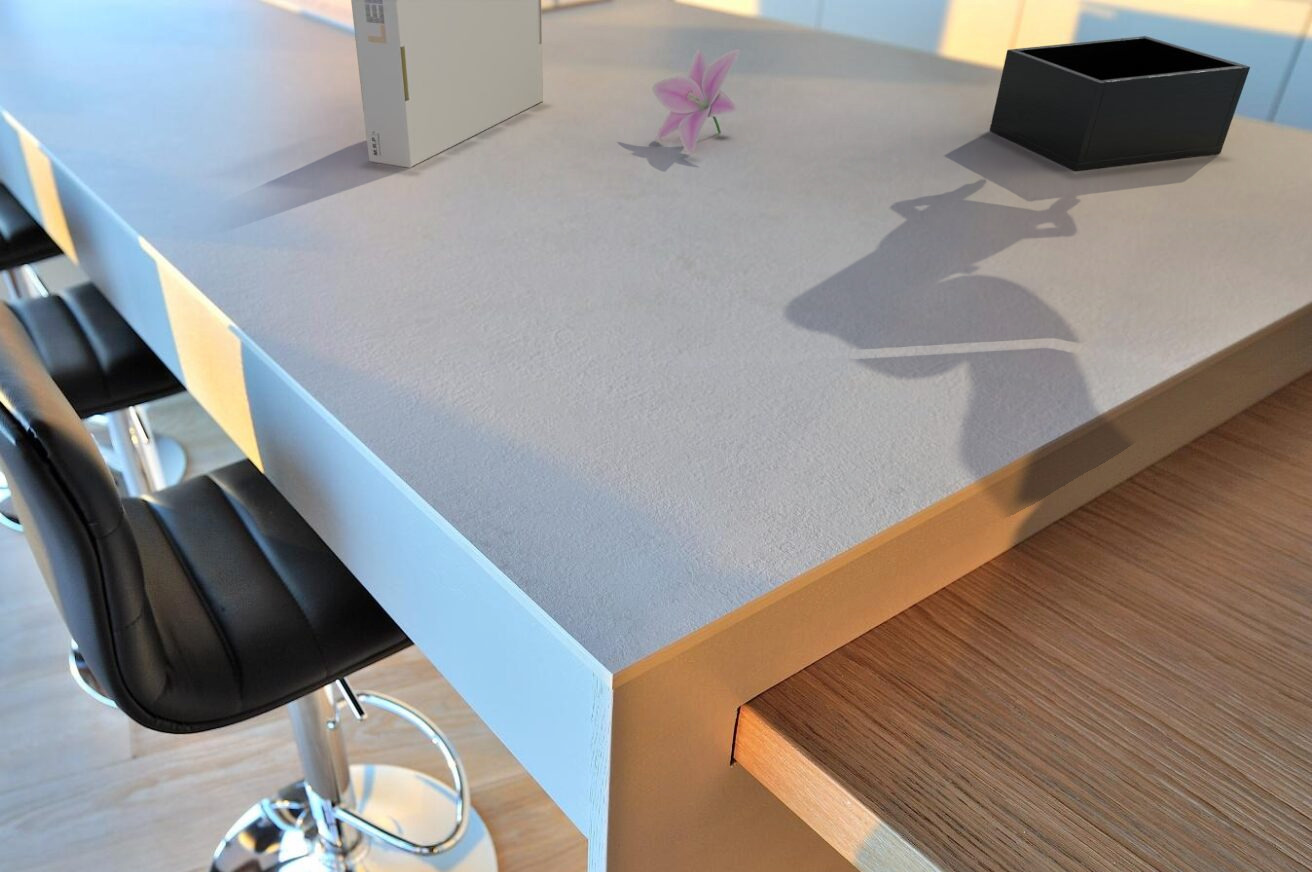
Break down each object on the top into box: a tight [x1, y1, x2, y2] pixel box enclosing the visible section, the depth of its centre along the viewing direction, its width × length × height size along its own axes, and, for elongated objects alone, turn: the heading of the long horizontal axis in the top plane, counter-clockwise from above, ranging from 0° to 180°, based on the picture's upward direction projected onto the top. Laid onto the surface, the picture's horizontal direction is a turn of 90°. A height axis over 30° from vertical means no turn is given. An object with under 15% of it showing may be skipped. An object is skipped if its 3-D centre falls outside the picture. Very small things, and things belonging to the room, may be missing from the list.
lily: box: [651, 48, 741, 155], centre depth 124 cm, size 12×12×10 cm
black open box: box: [989, 35, 1251, 172], centre depth 118 cm, size 18×16×9 cm
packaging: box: [350, 0, 544, 169], centre depth 128 cm, size 30×6×20 cm, turn 149°
